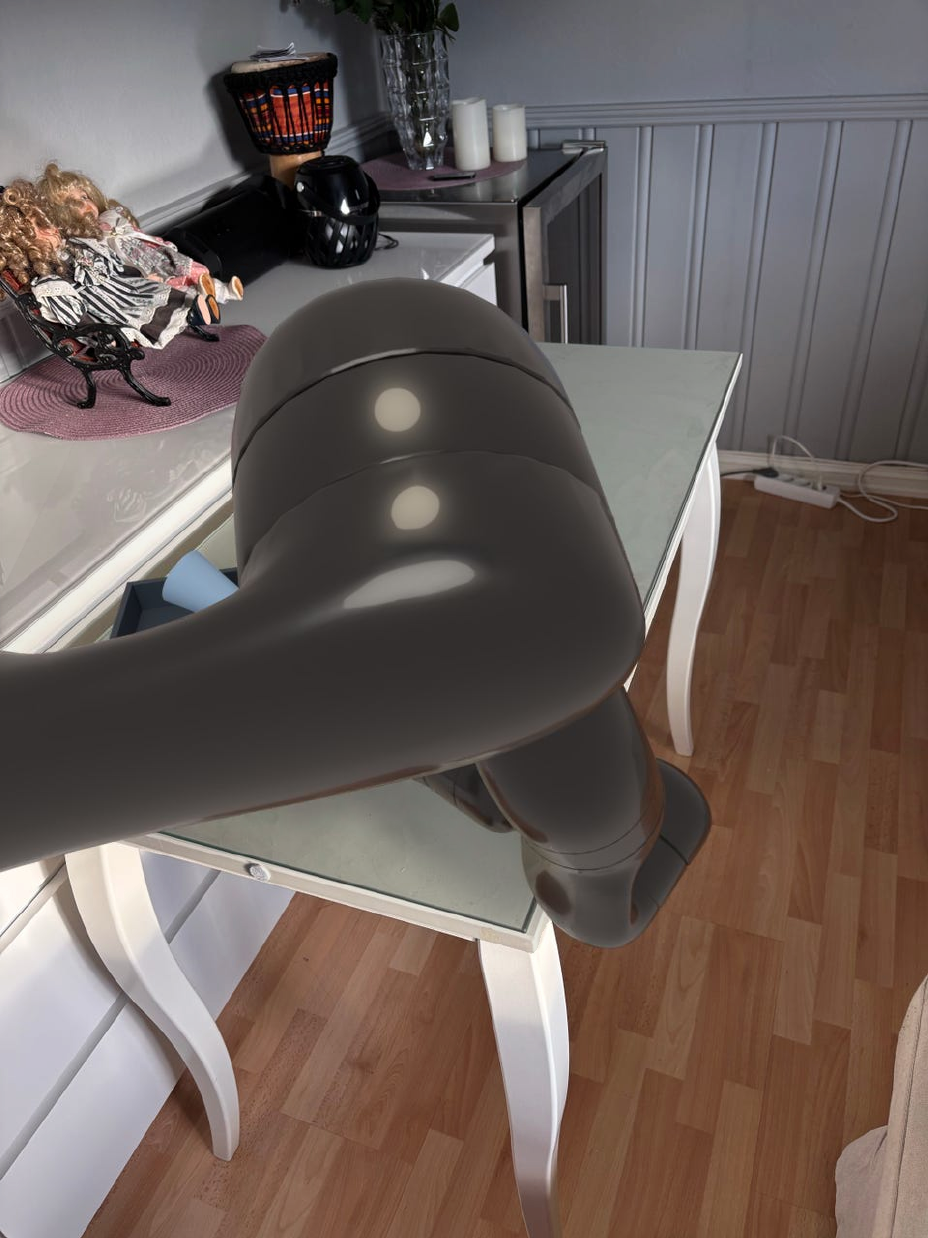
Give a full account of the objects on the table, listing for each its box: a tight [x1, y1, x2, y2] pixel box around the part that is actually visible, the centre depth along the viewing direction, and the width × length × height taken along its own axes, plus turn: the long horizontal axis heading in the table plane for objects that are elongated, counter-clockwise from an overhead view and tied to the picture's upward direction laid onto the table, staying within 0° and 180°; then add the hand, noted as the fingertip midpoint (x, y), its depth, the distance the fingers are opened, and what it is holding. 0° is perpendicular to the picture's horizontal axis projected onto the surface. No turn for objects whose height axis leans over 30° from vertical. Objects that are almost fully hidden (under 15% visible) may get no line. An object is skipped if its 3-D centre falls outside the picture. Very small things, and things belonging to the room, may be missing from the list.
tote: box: [108, 566, 238, 640], centre depth 80 cm, size 19×17×4 cm
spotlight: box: [162, 549, 239, 612], centre depth 77 cm, size 5×10×7 cm
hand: (269, 612), depth 68 cm, fingers open, 8 cm apart
